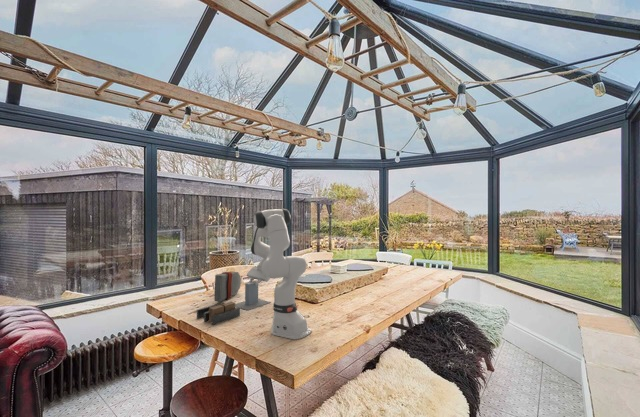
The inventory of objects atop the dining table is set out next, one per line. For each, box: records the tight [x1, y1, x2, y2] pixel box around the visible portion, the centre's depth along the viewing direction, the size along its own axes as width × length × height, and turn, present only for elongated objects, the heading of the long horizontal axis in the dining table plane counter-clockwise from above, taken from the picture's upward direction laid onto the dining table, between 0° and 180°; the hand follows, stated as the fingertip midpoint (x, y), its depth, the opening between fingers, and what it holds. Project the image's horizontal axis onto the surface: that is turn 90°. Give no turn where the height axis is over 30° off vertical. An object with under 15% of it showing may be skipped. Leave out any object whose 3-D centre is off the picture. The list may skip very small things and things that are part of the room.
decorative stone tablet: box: [213, 270, 242, 302], centre depth 214 cm, size 19×6×30 cm
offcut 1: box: [208, 305, 224, 324], centre depth 170 cm, size 4×7×8 cm, turn 142°
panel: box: [244, 280, 259, 305], centre depth 200 cm, size 4×8×14 cm, turn 142°
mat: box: [235, 298, 272, 311], centre depth 200 cm, size 16×20×1 cm
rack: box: [196, 301, 241, 326], centre depth 175 cm, size 17×18×5 cm
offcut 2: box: [221, 301, 236, 312], centre depth 176 cm, size 4×7×8 cm, turn 142°
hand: (252, 284), depth 200 cm, fingers open, 5 cm apart
